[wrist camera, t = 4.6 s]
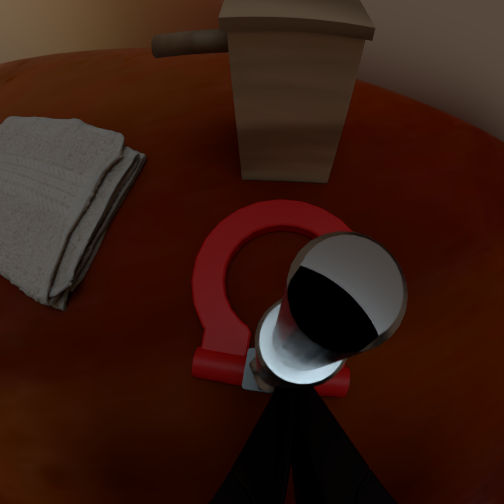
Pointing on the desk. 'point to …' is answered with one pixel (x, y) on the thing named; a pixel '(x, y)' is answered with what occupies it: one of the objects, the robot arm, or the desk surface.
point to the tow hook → (297, 302)
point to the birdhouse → (285, 79)
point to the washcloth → (58, 200)
